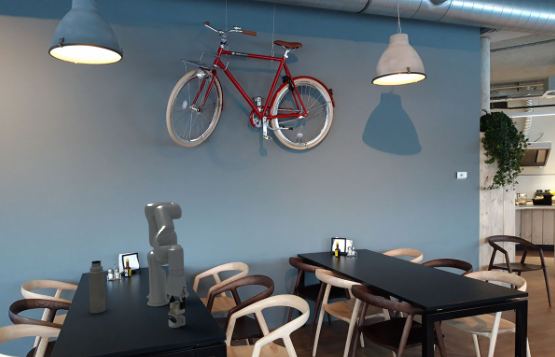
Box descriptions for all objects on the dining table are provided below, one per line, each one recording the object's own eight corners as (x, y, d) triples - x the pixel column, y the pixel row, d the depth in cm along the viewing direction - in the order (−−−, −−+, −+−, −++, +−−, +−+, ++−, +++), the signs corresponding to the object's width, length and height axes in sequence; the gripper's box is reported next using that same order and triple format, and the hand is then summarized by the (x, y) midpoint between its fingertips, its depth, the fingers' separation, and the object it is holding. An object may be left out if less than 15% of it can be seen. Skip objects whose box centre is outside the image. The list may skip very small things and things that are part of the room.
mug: (165, 326, 213) (165, 313, 213) (175, 322, 219) (175, 309, 218) (180, 330, 207) (179, 316, 207) (190, 325, 213) (189, 312, 213)
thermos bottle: (87, 311, 239) (86, 261, 239) (102, 307, 245) (100, 258, 244) (93, 314, 234) (91, 263, 233) (107, 310, 239) (106, 260, 238)
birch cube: (170, 313, 212) (170, 303, 212) (177, 310, 216) (177, 300, 216) (177, 315, 209) (177, 305, 209) (184, 312, 214) (184, 302, 214)
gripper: (158, 271, 214) (159, 307, 214) (183, 276, 205) (184, 313, 205) (169, 268, 220) (171, 303, 221) (194, 272, 211) (195, 308, 211)
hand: (177, 307), depth 213 cm, fingers open, 6 cm apart
